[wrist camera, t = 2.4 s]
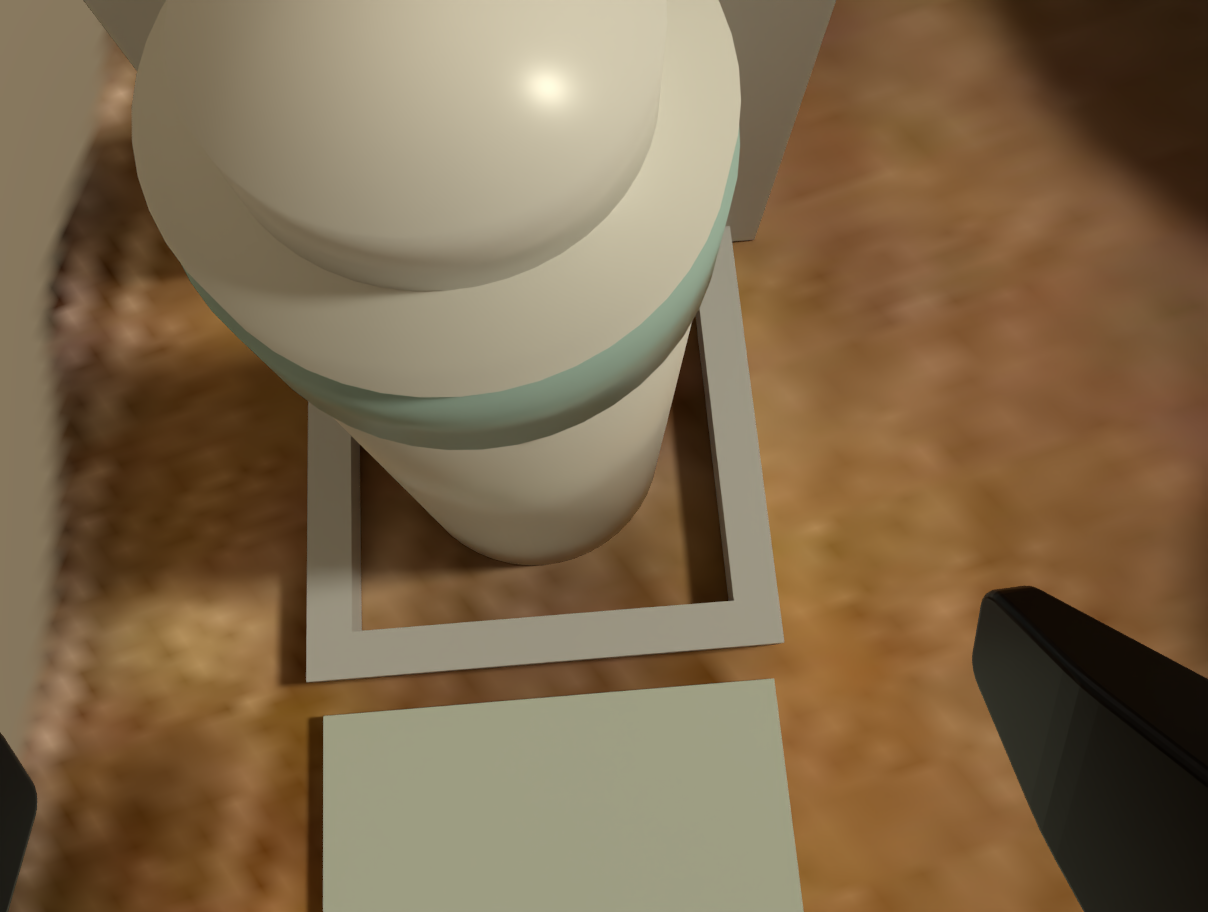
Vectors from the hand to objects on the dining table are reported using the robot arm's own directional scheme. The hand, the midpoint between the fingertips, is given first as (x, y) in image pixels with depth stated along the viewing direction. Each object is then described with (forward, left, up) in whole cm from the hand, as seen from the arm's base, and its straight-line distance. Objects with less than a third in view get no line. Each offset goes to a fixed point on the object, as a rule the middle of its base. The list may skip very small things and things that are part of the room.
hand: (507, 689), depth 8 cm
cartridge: (+6, 0, -12) cm, 13 cm away
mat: (-5, 0, -12) cm, 13 cm away
